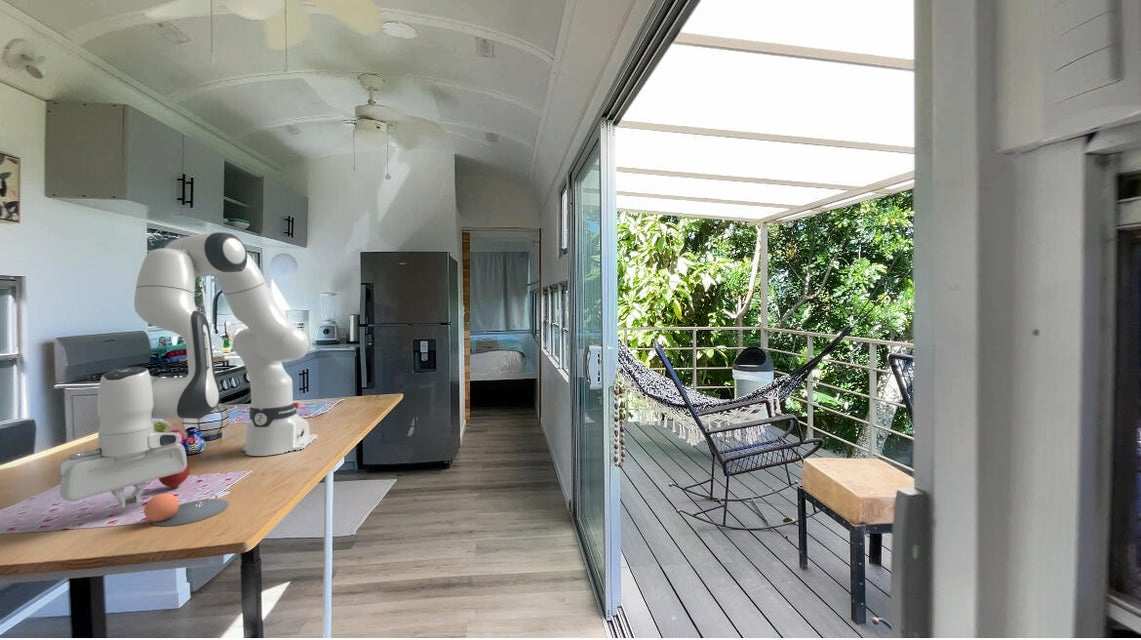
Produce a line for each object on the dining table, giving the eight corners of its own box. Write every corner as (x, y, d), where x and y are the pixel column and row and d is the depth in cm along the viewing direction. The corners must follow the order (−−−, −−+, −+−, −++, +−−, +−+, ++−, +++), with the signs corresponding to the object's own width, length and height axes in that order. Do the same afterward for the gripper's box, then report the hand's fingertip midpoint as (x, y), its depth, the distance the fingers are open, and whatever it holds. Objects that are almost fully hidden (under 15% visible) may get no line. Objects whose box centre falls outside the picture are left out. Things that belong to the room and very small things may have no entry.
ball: (179, 522, 99) (161, 514, 100) (189, 496, 100) (171, 488, 101) (151, 527, 94) (132, 518, 95) (162, 500, 94) (144, 491, 96)
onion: (171, 493, 112) (170, 460, 111) (152, 491, 113) (151, 459, 113) (195, 484, 117) (194, 453, 117) (177, 482, 118) (176, 451, 118)
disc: (186, 500, 108) (186, 499, 108) (242, 499, 108) (242, 498, 108) (133, 526, 95) (133, 525, 95) (197, 526, 95) (197, 525, 95)
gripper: (65, 458, 90) (67, 529, 90) (189, 433, 108) (191, 491, 109) (52, 454, 93) (54, 522, 93) (175, 430, 111) (177, 487, 111)
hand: (129, 505), depth 101 cm, fingers closed
